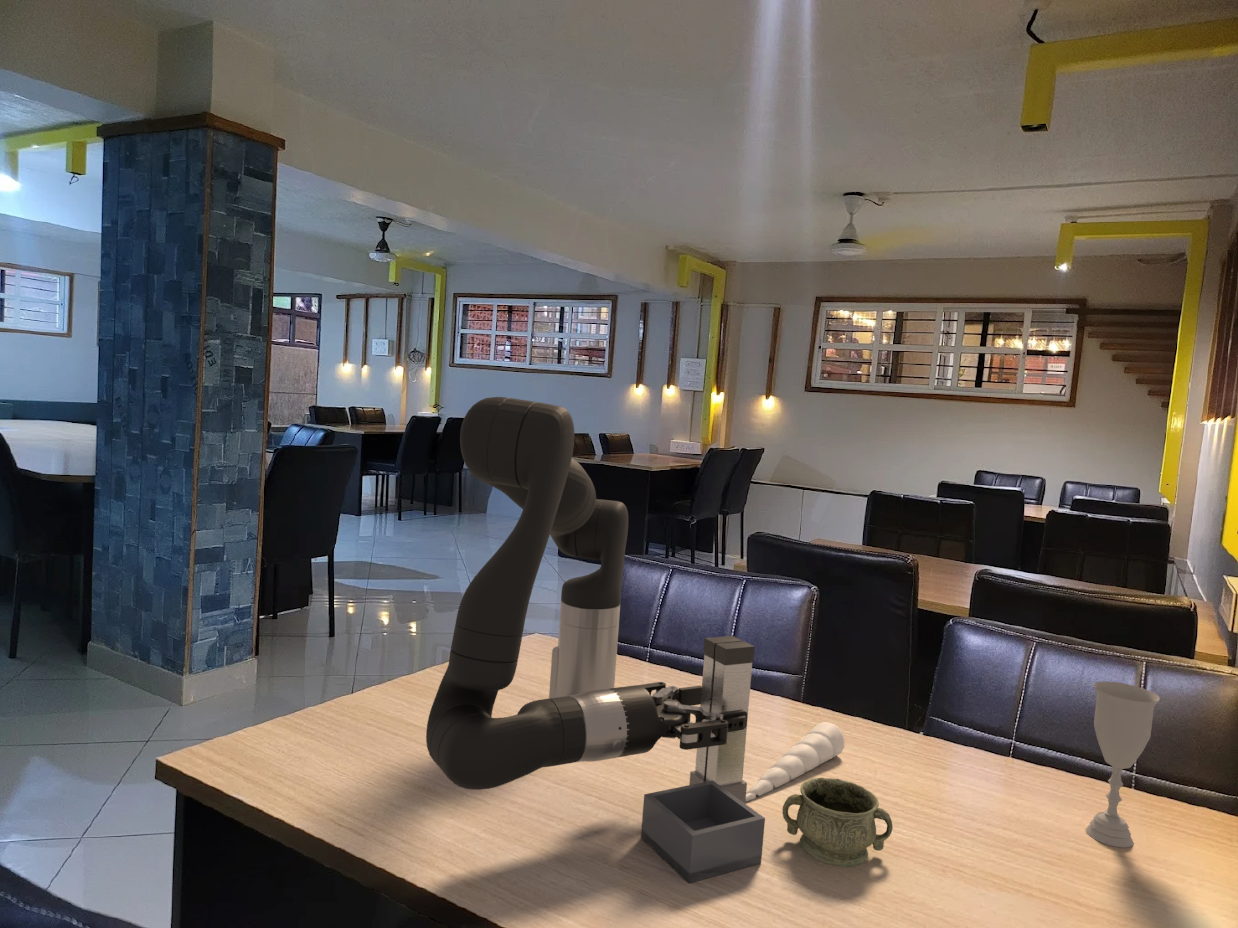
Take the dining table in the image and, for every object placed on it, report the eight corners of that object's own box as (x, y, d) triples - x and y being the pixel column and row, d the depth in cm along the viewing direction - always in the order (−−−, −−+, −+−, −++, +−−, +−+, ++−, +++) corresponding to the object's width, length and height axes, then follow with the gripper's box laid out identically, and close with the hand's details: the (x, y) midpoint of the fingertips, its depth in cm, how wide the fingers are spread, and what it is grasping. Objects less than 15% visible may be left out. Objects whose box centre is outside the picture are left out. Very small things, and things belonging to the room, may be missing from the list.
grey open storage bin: (688, 883, 83) (692, 835, 82) (640, 837, 91) (644, 794, 90) (761, 863, 87) (765, 818, 87) (709, 821, 95) (712, 780, 95)
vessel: (779, 858, 89) (784, 803, 88) (780, 820, 97) (784, 769, 97) (894, 879, 86) (900, 822, 86) (885, 837, 95) (890, 785, 94)
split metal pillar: (711, 813, 97) (724, 649, 96) (688, 794, 102) (700, 637, 101) (745, 806, 100) (758, 646, 98) (721, 788, 104) (734, 635, 103)
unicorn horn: (716, 794, 103) (719, 757, 103) (816, 748, 120) (818, 716, 120) (747, 808, 100) (750, 770, 100) (845, 759, 117) (847, 726, 117)
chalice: (1142, 858, 94) (1161, 706, 93) (1075, 838, 98) (1092, 692, 96) (1142, 833, 100) (1159, 690, 99) (1078, 815, 104) (1094, 677, 103)
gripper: (642, 713, 85) (763, 696, 94) (581, 670, 98) (692, 658, 106) (637, 782, 86) (758, 759, 94) (577, 731, 98) (688, 714, 106)
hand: (723, 706), depth 100 cm, fingers open, 8 cm apart
